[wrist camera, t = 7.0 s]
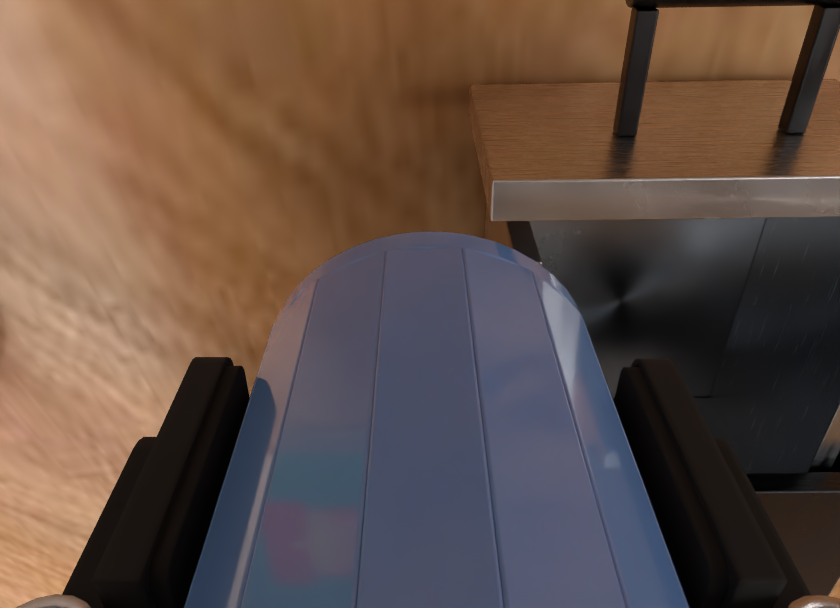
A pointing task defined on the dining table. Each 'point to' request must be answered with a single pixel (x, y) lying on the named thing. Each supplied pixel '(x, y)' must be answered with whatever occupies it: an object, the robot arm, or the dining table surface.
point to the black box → (806, 521)
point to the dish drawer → (690, 228)
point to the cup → (433, 447)
